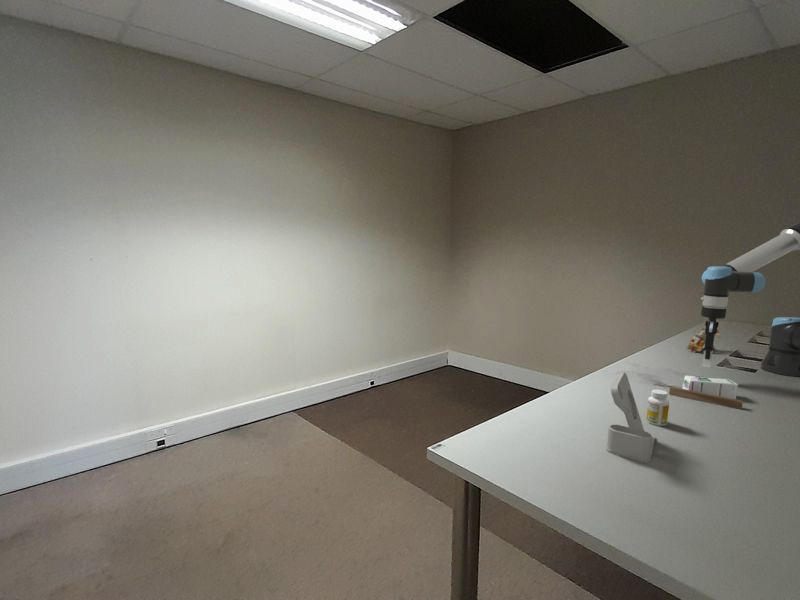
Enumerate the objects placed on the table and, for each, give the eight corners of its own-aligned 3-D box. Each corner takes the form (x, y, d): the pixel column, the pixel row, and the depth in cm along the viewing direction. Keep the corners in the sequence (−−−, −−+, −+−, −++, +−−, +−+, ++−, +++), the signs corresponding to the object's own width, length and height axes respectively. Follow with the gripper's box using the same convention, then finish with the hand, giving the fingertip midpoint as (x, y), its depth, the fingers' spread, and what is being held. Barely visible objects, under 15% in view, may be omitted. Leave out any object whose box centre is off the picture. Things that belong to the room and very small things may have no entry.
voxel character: (683, 353, 205) (697, 337, 211) (705, 363, 198) (719, 345, 204) (689, 337, 198) (703, 321, 204) (711, 347, 191) (726, 329, 197)
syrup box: (738, 384, 140) (690, 379, 144) (736, 400, 141) (688, 395, 145) (729, 378, 146) (683, 374, 149) (727, 394, 146) (681, 389, 150)
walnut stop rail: (669, 392, 147) (670, 386, 147) (741, 407, 135) (742, 400, 134) (669, 394, 146) (669, 388, 145) (741, 409, 133) (742, 402, 133)
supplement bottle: (664, 419, 125) (667, 389, 124) (669, 427, 120) (672, 396, 119) (644, 417, 127) (647, 387, 125) (648, 424, 122) (651, 393, 120)
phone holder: (649, 464, 100) (656, 395, 98) (604, 452, 106) (609, 386, 103) (655, 437, 114) (661, 375, 112) (614, 427, 120) (620, 368, 117)
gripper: (703, 303, 163) (695, 360, 166) (700, 307, 153) (693, 368, 156) (727, 306, 158) (719, 364, 162) (726, 310, 148) (717, 372, 152)
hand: (706, 366), depth 159 cm, fingers closed
